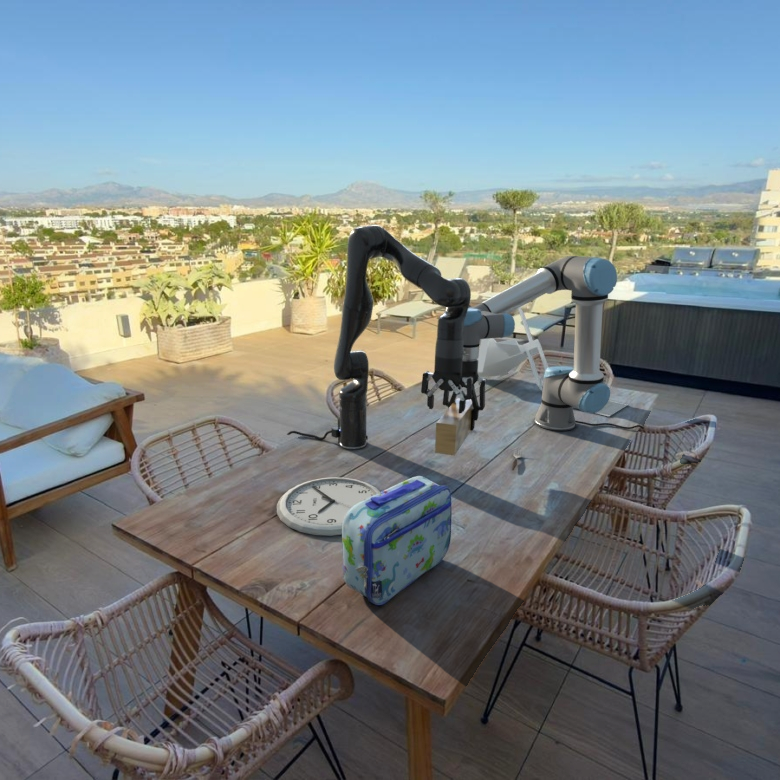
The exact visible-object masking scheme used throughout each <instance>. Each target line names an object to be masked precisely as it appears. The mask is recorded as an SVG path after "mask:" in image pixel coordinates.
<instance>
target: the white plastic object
mask: <svg viewBox="0 0 780 780" xmlns="http://www.w3.org/2000/svg"><path fill="white" fill-rule="evenodd" d="M517 310H518V312H519V313H518V314H519V316H520V318H521V322H522V324H523V328H524V331H525V334H526V338H527V339H528V342H526V343H523V344H519V342H518V341H517V338H510V339H506V340H505V339H504V340H500V341H497V340H496V338H489V339H480V343H479V358H478V359H477V360H478V376H479V377H480V378H489V377H497V376H498V377H500V378H501V377H504V376H507V375H509V372H510V371H512V370H513V369H515V367H517V366H519V365H520V364H521V363H523V362H524V361H526V360H527V359H528V362H529V365H530V368H531V372H532V374H533V378H534V381H535V384H536V386H537V388H539V390H540V391H541V392H542V391H543V383H542V382H541V379H540V375H539V372H538V369H537V366H536V364H535V363H536V362H535V361H534V357H533V356H534V355H536V354H539V357H540V359H541V363H542V366H543V368H544V371H545V370H546V369H547V368H549V363H548V361H547V359H546V356H545V352H544V350H543V347H542V344H541V342H540V339H538V338H536V339H533V335H532V334H531V330H530V326H529V323H528V320H527V318H526V316H525V312H524V311H523V309H522V308H521V307H519V308H517Z"/></svg>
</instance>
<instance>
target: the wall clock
mask: <svg viewBox="0 0 780 780" xmlns="http://www.w3.org/2000/svg"><path fill="white" fill-rule="evenodd" d="M380 492H382V491H381V490H380V489H379V488H377V487H376V486H374V485H372V484H371V483H369V482H365V481H362V480H359V479H355V478H349V477H338V476H337V477H335V476H333V477H332V476H331V477H322V478H317V479H312V480H307V481H305V482H302V483H299V484H297V485H295V486H293V487H292V488H290V489H288V490H287V491H286V492H285V493H284V494H283V495H281V496H280V498H279V499H278V502H277V503H276V515H277V517H278V518H279V520H280V521H281V522H282V523H283V524H285V525H286V526H287V527H288V528H290V529H293V530H295V531H297V532H299V533H303V534H308V535H312V536H327V537H328V536H329V537H331V536H332V537H333V536H342V525H343V521H344V518H345V516H346V514H347V512H348V511H349V510H350V509H351V508H352V507H353V506H354V505H356V504H358V503H360V502H362V501H364V500H366V499H368V498H370V497H372V496H374V495H376V494H378V493H380Z"/></svg>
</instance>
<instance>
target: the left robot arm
mask: <svg viewBox="0 0 780 780" xmlns="http://www.w3.org/2000/svg"><path fill="white" fill-rule="evenodd" d="M346 248H347V249H346V278H345V288H344V297H343V302H342V310H341V321H340V329H339V331H340V332H339V335H338V336H339V337H338V340H337V341H338V342H337V345H336V350H335V355H334V359H333V360H334V361H333V371H334V375H335V378H337V380H340V381H348V380H349V381H350V380H352V381H351V382H349V384H347V385H345V386H343V387H342V388H340V390H339V393H338V396H339V397H338V399H339V416H338V417H337V426H334V427H331V429H330V430H327V431H325V433H324V435H323V436H321V437H320V436H317V435H314V434H310V433H306V432H300V431H297V430H290V431H288V432H287V433H286V436H290V435H291V434H292V435H293V434H294V435H295V434H296V435H299V436H303V437H308V438H313V439H316V440H319V441H324V440H325V439H326V438H327V436H328V435H329V434H331V437H332V438H335V439H337V444H339V446H340V447H341V448H342V449H345V450H361V449H364V448H365V447H366V446H367V444H368V443H367V441H368V439H369V438H368V435H367V394H368V388H369V369H370V367H369V366H370V365H369V358H368V355H367V352H365V351H363V350H353V351H352V349H353V346H354V344H355V343H356V341H357V340H358V339H359V338H360V336H361V335H362V334H363V333H364V331H366V329H367V328H368V327H369V325H370V323H371V320H372V316H373V310H374V296H373V294H372V290H371V288H370V286H369V284H368V281H367V280H368V279H367V270H368V265H369V261H370V260H373V259H378V258H382V259H386V260H388V261H390V262H392V263H393V264H394V265H395V267H397V269H398V271H399V273H400V274H401V276H402V277H403V278H404V279H405V281H407V282H409V283H410V284H412V285H413V286H415V287H416V288H418V289H420V290H421V291H423V292H424V293H425V295H426V296H428V298H429V299H430V300H431V301H432V302H433V303H434V304H436V305H437V306H439V307H443V308H445V311H444V313H443V314H441V315H440V316H439V317H438V319H437V324H436V325H437V326H436V339H435V340H436V341H435V347H434V371H433V372H430V371H429V370H426V371H424V372H423V373H422V377H421V378H422V379H421V388H420V392H421V394H424V395H426V397H427V399H426V402H427V403H426V405H427V407H428V409H430V410H433V409H434V406H435V405H434V404H435V394H434V393H435V392H436V391H437V390H438V389H439V390H440V391H444V390H448V391H449V392H453V391H454V392H455V393H456V395H457V398H460V401H459V413H462V412H464V410H465V406H466V400H471V398H472V397H473V377H472V376H470V377H463V376H462V362H463V352H464V351H463V329H464V320H465V318H466V315H467V311H468V307H469V306H470V304H471V296H472V291H471V287H470V285H469V283H468V282H467V280H465V279H463V278H461V277H460V278H451V279H450V278H449V279H448V278H445V277H443V276H442V272H441V270H440V269H439V268H438V267H437V266H435V265H434V264H431V263H430V262H428V261H426V260H425V259H423V258H421V257H420V256H419V255H416V253H414V252H412V251H411V250H410V249H408V248H407V247H406V246H405V245H404V244H402V243H401V242H400V241H399V240H398V239H396V238H395V236H394V235H392V234H391V233H390V232H389V231H388V230H387V229H385V228H383V227H382V226H381V225H377V224H371V225H365V226H359V227H356V228H354V229H352V230H351V232H350V233H349V236H348V239H347V247H346ZM431 379H432V380H433V381H434V383H435V384H434V385H433V386H432V387H431V388H429V381H430V380H431ZM462 381H464V383H465V385H467V388H466V393H465V391H464V387H461V385H460V383H461V382H462Z"/></svg>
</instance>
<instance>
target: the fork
mask: <svg viewBox="0 0 780 780" xmlns="http://www.w3.org/2000/svg"><path fill="white" fill-rule="evenodd" d="M522 455H523V450H521V449H519V448H517V447H515V448H514V452H513V457H514V460H513V462H512V471H514V470H515V468H516V466H517V464H518V459H519V458H522Z"/></svg>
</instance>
